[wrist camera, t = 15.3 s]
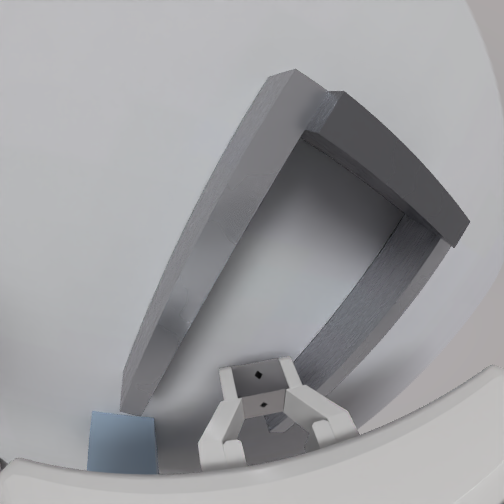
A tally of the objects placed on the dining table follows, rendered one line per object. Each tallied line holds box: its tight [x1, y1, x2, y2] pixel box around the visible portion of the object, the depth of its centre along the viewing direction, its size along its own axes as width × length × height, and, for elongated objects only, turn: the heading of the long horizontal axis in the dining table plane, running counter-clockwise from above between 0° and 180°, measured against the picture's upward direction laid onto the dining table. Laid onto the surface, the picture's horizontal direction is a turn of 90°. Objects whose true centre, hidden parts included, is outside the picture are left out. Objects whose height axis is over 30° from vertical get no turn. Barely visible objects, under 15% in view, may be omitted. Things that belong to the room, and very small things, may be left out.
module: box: [87, 411, 159, 474], centre depth 13 cm, size 6×4×6 cm, turn 167°
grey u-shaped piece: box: [120, 69, 470, 433], centre depth 11 cm, size 14×9×3 cm, turn 150°
